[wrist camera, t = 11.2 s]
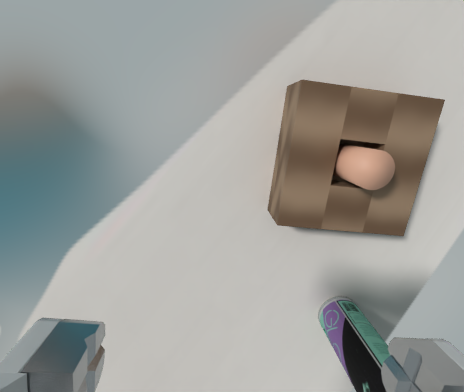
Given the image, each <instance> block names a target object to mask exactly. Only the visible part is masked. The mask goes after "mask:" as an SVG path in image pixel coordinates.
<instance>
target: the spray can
mask: <svg viewBox="0 0 464 392" xmlns="http://www.w3.org/2000/svg"><path fill="white" fill-rule="evenodd" d="M318 319H319V322H320V324H321V326H322V328H323V330H324V331H325V333H326V335H327V337H328V339H329V341H330V343H331V345H332V347H333V348H334V350H335V352H336V354H337V356H338V358H339V360H340V362H341V363H342V365H343V367H344V369H345V371H346V373H347V375H348V377H349V378H350V380H351V382H352V384H353V386H354V388H355V390H356V392H387V391H386V389H385V387H384V384H383V382H382V375H381V369H382V366H383V362H384V361H385V360H386V359H387V358H388V357H389V356H390V353H389V351H388V345H387V344H386V343H385V342H384V340H383V339H382V338H381V336H380V335H379V334H378V333H377V331H376V330H375V329H374V327H373V326H372V325H371V324H370V322H369V321H368V320H367V318H366V317H365V316H364V315H363V313H362V312H361V311H360V309H359V308H358V307H357V306H356V304H355V303H354V302H353V301H352V300H351V299H349V298H347V297H334V298H331V299H329V300H327V301H326V302H325V303H324V304H323V305H322V306H321V308H320V310H319V313H318Z"/></svg>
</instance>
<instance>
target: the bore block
mask: <svg viewBox="0 0 464 392" xmlns="http://www.w3.org/2000/svg"><path fill="white" fill-rule="evenodd" d="M444 101H445V100H442V99H435V98H428V97H421V96H414V95H407V94H400V93H392V92H385V91H378V90H371V89H364V88H357V87H350V86H343V85H336V84H329V83H322V82H315V81H307V80H300V81H298V82H296V83H294V84H291V85H289V86H287V92H286V98H285V104H284V110H283V117H282V123H281V129H280V135H279V142H278V148H277V154H276V161H275V167H274V173H273V179H272V186H271V192H270V198H269V204H268V211H269V213H270V214H271V216H272V218H273V219H274V221H275V222H276V224H277V225H281V226H292V227H304V228H316V229H327V230H339V231H351V232H362V233H374V234H386V235H398V236H404V233H405V229H406V226H407V223H408V219H409V216H410V213H411V210H412V206H413V203H414V200H415V196H416V193H417V190H418V187H419V183H420V180H421V177H422V173H423V170H424V167H425V164H426V160H427V157H428V154H429V150H430V147H431V144H432V140H433V137H434V134H435V131H436V127H437V124H438V121H439V117H440V114H441V111H442V108H443V104H444ZM339 144H346V145H352V146H358V147H364V148H371V149H377V150H382V151H385V152H387V153H389V154H390V155H391V156H392V158H393V160H394V163H395V172H394V175H393V177H392V179H391V180H390V182H389V183H388V184H387V185H386V186H384V187H382V188H380V189H377V190H367V189H365V188H362V187H360V186H358V185H355V184H353V183H351V182H349V181H346V180H344V179H342V178H340V177H337V176H335V175H333V171H334V167H335V162H336V157H337V153H338V148H339Z"/></svg>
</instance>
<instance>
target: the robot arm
mask: <svg viewBox="0 0 464 392" xmlns="http://www.w3.org/2000/svg"><path fill="white" fill-rule="evenodd" d="M104 337H105V324H104V322H97V321H84V320H71V319H53V318H42V319H40V320H38V321H36V322H35V323H34V325H33V326H32V327H31V328H30V329H29V330H28V331H27V332H26V334H25V335H24V336H23V337H22V338H21V339H20V340H19V341H18V343H17V344H16V345H15V346H14V347H13V348H12V349H11V351H10V352H9V353H8V354H7V355H6V356H5V357H4V358H3V360H2V361H1V362H0V392H95V390H96V388H97V385H98V383H99V380H100V377H101V373H102V369H103V364H104V357H105V349H104V348H103V347H102V346H101V343H102V341H103V339H104ZM388 351H389V353H390V356H389V357H388V358H387V359H386V360H385V361H384V362H383V366H382V369H381V375H382V382H383V384H384V387H385V389H386V391H387V392H464V355H463V354H462V353H461V352H460V351H459V350H458V349H457V348H455V347H454V346H453V345H452V344H451V343H450V342H448V341H446V340H443V339H416V338H415V339H414V338H393V339H392V340H391V341H390V343H389V346H388Z"/></svg>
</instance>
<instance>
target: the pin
mask: <svg viewBox="0 0 464 392" xmlns="http://www.w3.org/2000/svg"><path fill="white" fill-rule="evenodd" d="M394 172H395V163H394V160H393V158H392V156H391V155H390V154H389V153H387V152H385V151H382V150H377V149H371V148H364V147H358V146H352V145H346V144H339V148H338V153H337V157H336V162H335V167H334V171H333V175H335V176H337V177H340V178H342V179H344V180H346V181H349V182H351V183H353V184H355V185H358V186H360V187H362V188H365V189H367V190H377V189H380V188H382V187H384V186H386V185H387V184H388V183H389V182H390V180H391V179H392V177H393V175H394Z"/></svg>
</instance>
